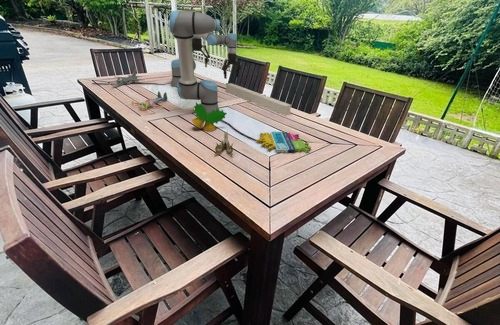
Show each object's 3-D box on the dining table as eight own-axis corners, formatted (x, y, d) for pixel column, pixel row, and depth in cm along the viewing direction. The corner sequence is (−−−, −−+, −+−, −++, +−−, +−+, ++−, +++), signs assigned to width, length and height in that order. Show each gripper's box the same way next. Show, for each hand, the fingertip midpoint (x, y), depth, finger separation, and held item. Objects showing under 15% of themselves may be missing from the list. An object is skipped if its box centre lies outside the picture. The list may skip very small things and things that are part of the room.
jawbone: (234, 135, 144) (233, 125, 135) (233, 160, 138) (232, 151, 129) (217, 135, 144) (216, 125, 135) (216, 160, 138) (214, 150, 129)
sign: (313, 150, 142) (258, 149, 139) (312, 153, 143) (258, 152, 140) (301, 132, 164) (254, 130, 161) (301, 134, 165) (254, 133, 162)
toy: (179, 93, 205) (158, 103, 179) (179, 102, 208) (159, 113, 183) (147, 89, 210) (122, 98, 184) (148, 98, 213) (124, 108, 188)
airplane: (108, 79, 258) (106, 69, 253) (142, 77, 271) (140, 67, 266) (110, 89, 230) (108, 78, 224) (148, 87, 243) (146, 76, 238)
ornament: (218, 133, 171) (224, 110, 169) (221, 134, 163) (227, 111, 161) (186, 125, 162) (192, 101, 160) (189, 126, 155) (195, 101, 153)
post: (289, 114, 200) (291, 104, 196) (284, 115, 196) (285, 106, 193) (231, 90, 250) (231, 83, 247) (225, 91, 247) (226, 83, 243)
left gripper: (240, 52, 239) (239, 76, 249) (217, 52, 224) (217, 78, 235) (245, 53, 234) (244, 77, 244) (222, 54, 220) (222, 79, 230)
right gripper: (211, 38, 206) (211, 66, 216) (179, 36, 197) (181, 66, 208) (213, 38, 200) (213, 67, 210) (180, 37, 191) (182, 67, 202)
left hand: (231, 77), depth 240 cm, fingers open, 13 cm apart
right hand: (197, 67), depth 209 cm, fingers open, 13 cm apart
